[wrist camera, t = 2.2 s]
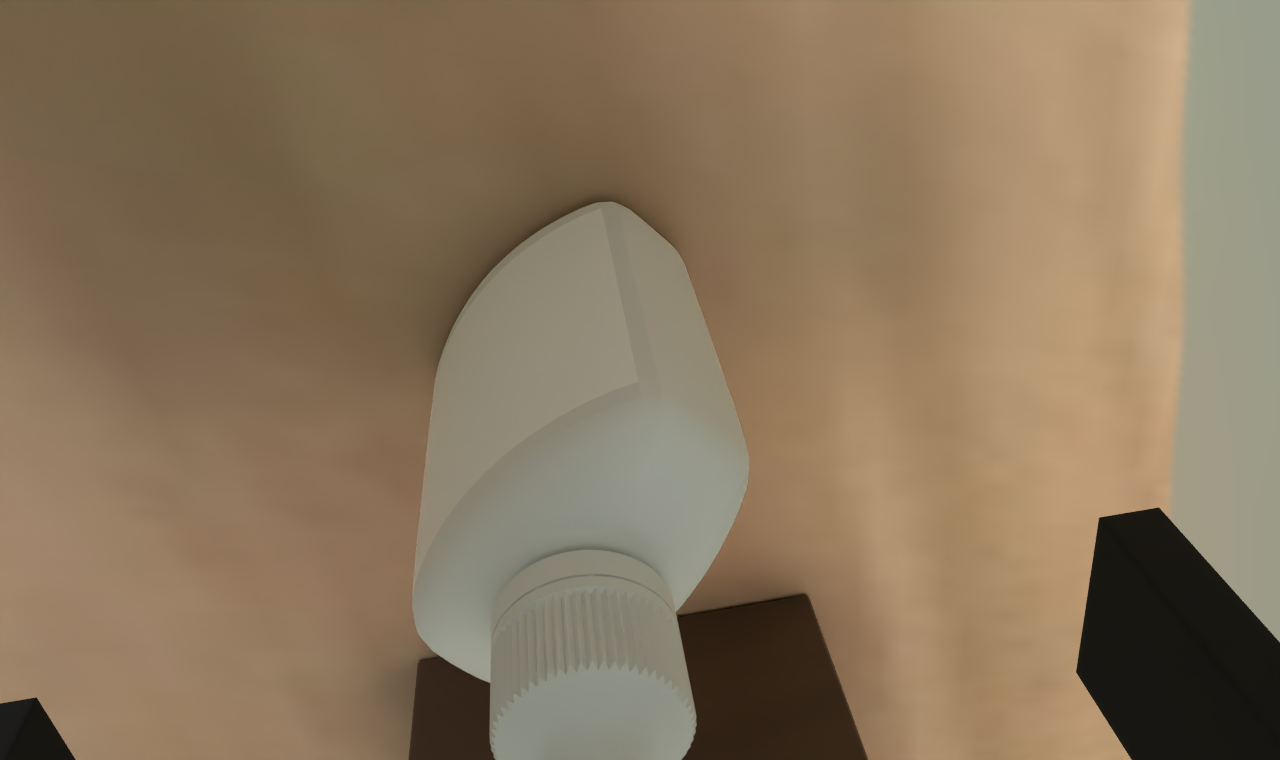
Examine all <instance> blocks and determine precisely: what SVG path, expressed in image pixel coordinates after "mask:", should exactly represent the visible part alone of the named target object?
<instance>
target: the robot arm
mask: <svg viewBox="0 0 1280 760" xmlns="http://www.w3.org/2000/svg"><path fill="white" fill-rule="evenodd" d="M1076 673H1077V674H1078V676H1079V677H1080V679H1081V681H1082V682H1083V684H1084V685H1085V687H1086V688H1087V690H1088V692H1089V693H1090V695H1091V696H1092V698H1093V699H1094V701H1095V703H1096V704H1097V706H1098V707H1099V709H1100V710H1101V712H1102V714H1103V715H1104V717H1105V718H1106V720H1107V721H1108V723H1109V725H1110V726H1111V728H1112V729H1113V731H1114V732H1115V734H1116V736H1117V737H1118V739H1119V740H1120V742H1121V743H1122V745H1123V747H1124V748H1125V750H1126V751H1127V753H1128V754H1129V756H1130V758H1131V759H1132V760H1280V642H1279V641H1278V640H1277V639H1276V638H1275V637H1274V636H1273V635H1272V633H1271V632H1270V631H1269V630H1268V629H1267V628H1266V627H1265V626H1264V624H1263V623H1262V622H1261V621H1260V620H1259V619H1258V618H1257V617H1256V615H1254V613H1253V612H1252V611H1251V610H1250V609H1249V608H1248V607H1247V605H1246V604H1245V603H1244V602H1243V601H1242V600H1241V599H1240V598H1239V596H1238V595H1237V594H1236V593H1235V592H1234V591H1233V590H1232V589H1231V588H1230V586H1229V585H1228V584H1227V583H1226V582H1225V581H1224V580H1223V579H1222V577H1221V576H1220V575H1219V574H1218V573H1217V572H1216V571H1215V570H1214V569H1213V567H1212V566H1211V565H1210V564H1209V563H1208V562H1207V561H1206V560H1205V559H1204V557H1203V556H1202V555H1201V554H1200V553H1199V552H1198V551H1197V550H1196V549H1195V547H1194V546H1193V545H1192V544H1191V543H1190V542H1189V541H1188V539H1187V538H1186V537H1185V536H1184V535H1183V534H1182V533H1181V532H1180V531H1179V529H1178V528H1177V527H1176V526H1175V525H1174V524H1173V523H1172V522H1171V520H1170V519H1169V518H1168V517H1167V516H1166V515H1165V514H1164V513H1163V512H1162V510H1161V509H1160V508H1154V509H1148V510H1142V511H1136V512H1130V513H1124V514H1118V515H1112V516H1107V517H1101V518H1099V523H1098V530H1097V536H1096V543H1095V550H1094V557H1093V563H1092V570H1091V577H1090V583H1089V590H1088V597H1087V603H1086V610H1085V617H1084V624H1083V630H1082V637H1081V644H1080V650H1079V657H1078V664H1077V670H1076ZM0 760H75V758H74V756H73V755H72V753H71V752H70V750H69V749H68V747H67V745H66V744H65V742H64V741H63V739H62V737H61V736H60V734H59V733H58V731H57V729H56V728H55V726H54V725H53V723H52V721H51V720H50V718H49V717H48V715H47V713H46V712H45V710H44V709H43V707H42V706H41V704H40V702H39V701H38V699H37V698H31V699H25V700H19V701H14V702H8V703H2V704H0Z"/></svg>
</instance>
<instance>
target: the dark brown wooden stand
mask: <svg viewBox="0 0 1280 760" xmlns="http://www.w3.org/2000/svg"><path fill="white" fill-rule="evenodd" d="M677 621H678V626H679V631H680V636H681V641H682V646H683V651H684V656H685V661H686V666H687V671H688V676H689V681H690V686H691V691H692V696H693V701H694V706H695V712H696V717H697V718H696V723H697V725H696V727H695V730H696V733H695V734H694V736H693V737H694V740H693V741H692V743H691V747H690V748H689V749H688V751H687V754H686V755H685V756H684V757H683V758H682V760H868V758H867V755H866V752H865V750H864V747H863V744H862V741H861V739H860V736H859V733H858V730H857V728H856V725H855V722H854V719H853V717H852V714H851V711H850V708H849V706H848V703H847V700H846V697H845V695H844V692H843V689H842V686H841V684H840V681H839V678H838V675H837V673H836V670H835V667H834V664H833V662H832V659H831V656H830V654H829V651H828V648H827V645H826V643H825V640H824V637H823V634H822V632H821V629H820V626H819V623H818V621H817V618H816V615H815V612H814V610H813V607H812V604H811V601H810V599H809V597H808V596H806V595H805V596H799V597H793V598H787V599H782V600H776V601H770V602H764V603H758V604H752V605H746V606H741V607H735V608H729V609H723V610H717V611H711V612H705V613H700V614H694V615H688V616H682V617H677ZM489 732H490V683H489V682H486V681H484V680H481V679H479V678H477V677H475V676H473V675H471V674H469V673H467V672H465V671H463V670H462V669H460V668H458V667H456V666H455V665H453V664H451V663H450V662H448V661H447V660H445V659H444V658H436V659H430V660H424V661H420V662H419V663H418V668H417V678H416V688H415V699H414V709H413V719H412V729H411V740H410V750H409V760H496V759H495V758H494V753H493V752H492V751H491V744H490V736H489Z"/></svg>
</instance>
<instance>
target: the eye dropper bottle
mask: <svg viewBox="0 0 1280 760" xmlns="http://www.w3.org/2000/svg"><path fill="white" fill-rule="evenodd" d="M748 480H749V456H748V448H747V445H746V442H745V438H744V435H743V432H742V429H741V425H740V422H739V419H738V416H737V412H736V409H735V406H734V403H733V400H732V397H731V394H730V392H729V389H728V386H727V383H726V380H725V377H724V374H723V371H722V368H721V366H720V363H719V360H718V357H717V354H716V351H715V348H714V345H713V342H712V340H711V337H710V334H709V331H708V328H707V325H706V323H705V320H704V317H703V314H702V311H701V309H700V306H699V303H698V300H697V297H696V294H695V292H694V289H693V286H692V283H691V280H690V278H689V275H688V272H687V269H686V267H685V264H684V262H683V260H682V258H681V257H680V255H679V253H678V252H677V250H676V249H675V248H674V247H673V246H672V245H671V244H670V243H669V242H668V241H667V240H665V239H664V238H663V237H662V236H661V235H660V234H659V233H657V232H656V231H655V230H654V229H653V228H652V227H650V226H649V225H648V224H647V223H646V222H645V221H643V220H642V219H641V218H640V217H639V216H637V215H636V214H635V213H634V212H632V211H631V210H630V209H629V208H627V207H624V206H622V205H620V204H618V203H615V202H612V201H610V202H597V203H593V204H591V205H588V206H585V207H582V208H580V209H578V210H576V211H574V212H571V213H569V214H567V215H565V216H563V217H561V218H560V219H558V220H556V221H554V222H552V223H551V224H549V225H547V226H546V227H544V228H542V229H541V230H539V231H538V232H536V233H535V234H533V235H532V236H531V237H529V238H528V239H526V240H525V241H524V242H522V243H521V244H520V245H519V246H517V247H516V248H515V249H513V250H512V251H511V252H510V253H509V254H508V255H507V256H506V257H504V258H503V259H502V260H501V261H500V262H499V263H498V264H497V265H496V266H495V267H494V268H493V269H492V270H491V272H490V273H489V274H488V275H487V276H486V277H485V278H484V280H483V281H482V282H481V283H480V285H479V286H478V287H477V288H476V290H475V291H474V292H473V294H472V295H471V297H470V298H469V300H468V301H467V303H466V304H465V306H464V308H463V309H462V311H461V313H460V315H459V316H458V318H457V320H456V322H455V324H454V326H453V328H452V330H451V332H450V334H449V337H448V339H447V342H446V344H445V346H444V349H443V352H442V355H441V358H440V361H439V364H438V368H437V373H436V377H435V383H434V392H433V400H432V409H431V418H430V426H429V435H428V444H427V452H426V461H425V470H424V479H423V488H422V498H421V507H420V516H419V525H418V535H417V544H416V554H415V567H414V579H413V592H412V605H413V616H414V622H415V627H416V630H417V632H418V635H419V636H420V637H421V638H422V640H423V641H424V642H425V643H426V644H427V645H428V646H429V648H430V649H431V650H432V651H433V652H435V653H436V654H438V655H439V656H441V657H442V658H444V659H445V660H447V661H448V662H450V663H451V664H453V665H455V666H456V667H458V668H460V669H462V670H463V671H465V672H467V673H469V674H471V675H473V676H475V677H477V678H479V679H481V680H484V681H486V682H489V683H490V732H489V736H490V744H491V751H492V752H493V753H494V758H495V759H496V760H682V758H683V757H684V756H685V755H686V754H687V751H688V749H689V748H690V747H691V743H692V741H693V740H694V737H693V736H694V734H695V733H696V730H695V727H696V725H697V723H696V718H697V717H696V712H695V706H694V701H693V696H692V691H691V686H690V681H689V676H688V671H687V666H686V661H685V656H684V651H683V646H682V641H681V636H680V631H679V626H678V621H677V616H676V612H677V611H678V609H679V608H680V607H681V606H682V605H683V603H684V602H685V601H686V600H687V599H688V597H689V596H690V595H691V594H692V592H693V591H694V589H695V588H696V587H697V585H698V584H699V582H700V581H701V580H702V578H703V577H704V575H705V574H706V572H707V571H708V569H709V567H710V566H711V564H712V562H713V561H714V559H715V557H716V556H717V554H718V553H719V551H720V549H721V547H722V545H723V543H724V541H725V539H726V537H727V535H728V534H729V532H730V530H731V528H732V525H733V523H734V521H735V519H736V516H737V514H738V512H739V509H740V506H741V504H742V501H743V498H744V495H745V492H746V489H747V486H748Z"/></svg>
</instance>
